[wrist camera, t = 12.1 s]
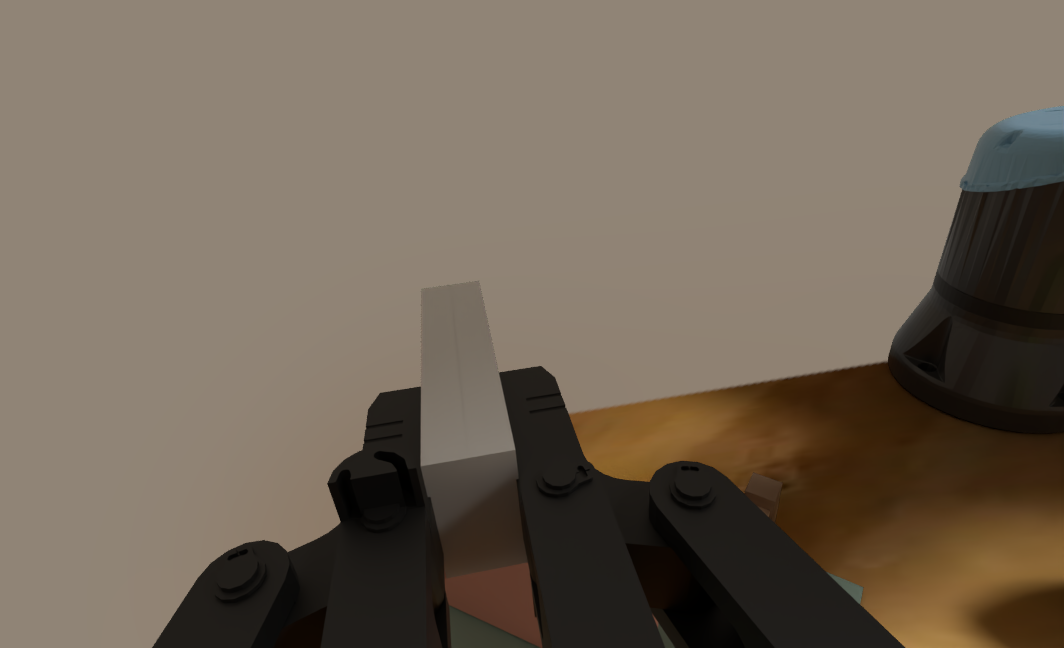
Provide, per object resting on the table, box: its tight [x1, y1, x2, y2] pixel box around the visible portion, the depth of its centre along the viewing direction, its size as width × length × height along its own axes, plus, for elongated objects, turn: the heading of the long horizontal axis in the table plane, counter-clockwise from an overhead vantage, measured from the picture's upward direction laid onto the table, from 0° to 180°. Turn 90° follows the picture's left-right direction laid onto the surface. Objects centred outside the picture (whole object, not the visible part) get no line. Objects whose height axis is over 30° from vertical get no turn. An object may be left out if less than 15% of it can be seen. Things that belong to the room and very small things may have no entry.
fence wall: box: [745, 473, 782, 523], centre depth 32 cm, size 14×2×6 cm, turn 146°
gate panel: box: [444, 562, 658, 648], centre depth 30 cm, size 14×1×13 cm, turn 63°
